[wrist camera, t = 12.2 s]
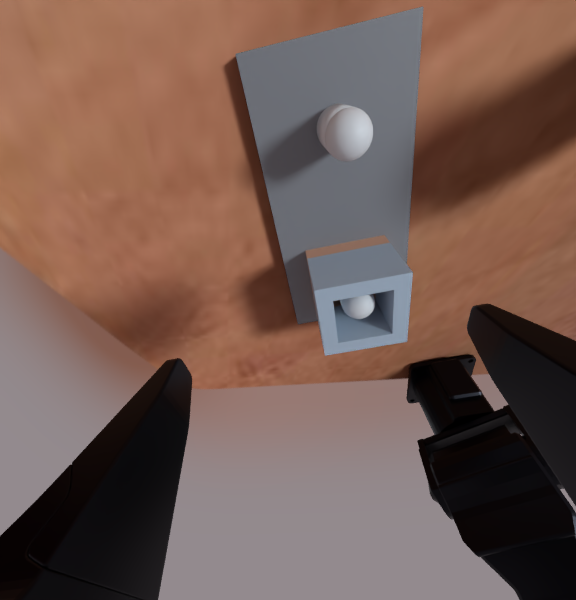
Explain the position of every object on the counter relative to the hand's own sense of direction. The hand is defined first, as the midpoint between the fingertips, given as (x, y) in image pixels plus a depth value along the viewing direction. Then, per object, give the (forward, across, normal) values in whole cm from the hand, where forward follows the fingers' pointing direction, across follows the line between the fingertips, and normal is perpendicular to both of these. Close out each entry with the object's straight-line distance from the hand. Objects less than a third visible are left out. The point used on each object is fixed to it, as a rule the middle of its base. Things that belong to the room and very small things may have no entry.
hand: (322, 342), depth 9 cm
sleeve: (+12, -3, +6) cm, 14 cm away
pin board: (+13, -3, +1) cm, 13 cm away
